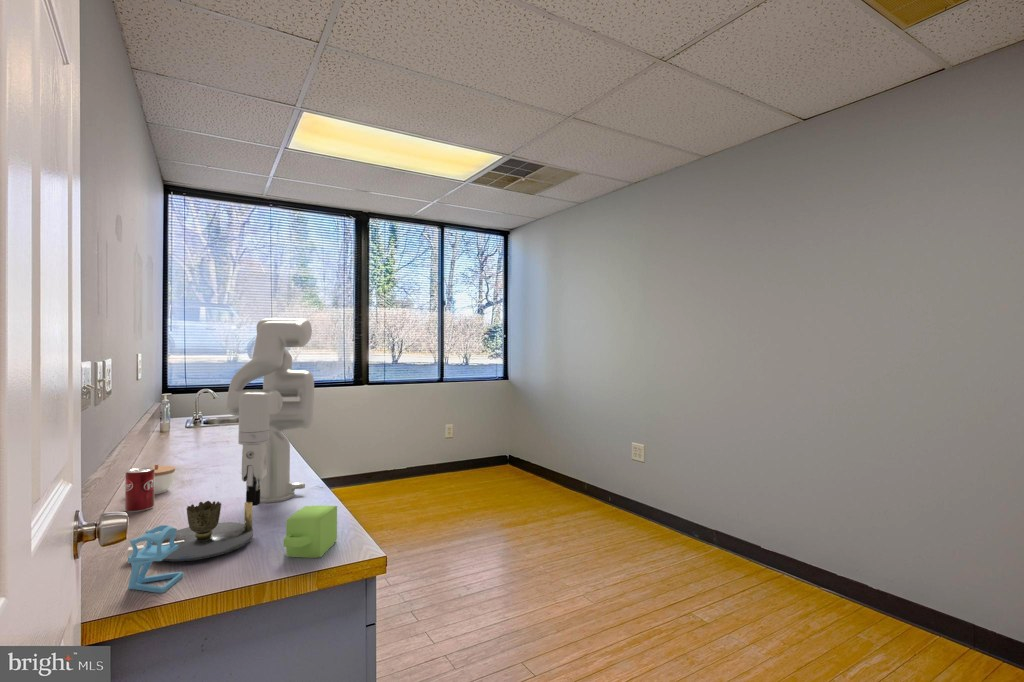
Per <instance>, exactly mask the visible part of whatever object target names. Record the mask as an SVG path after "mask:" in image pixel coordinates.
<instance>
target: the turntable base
mask: <svg viewBox="0 0 1024 682" xmlns="http://www.w3.org/2000/svg"><path fill="white" fill-rule="evenodd" d="M136 546H137V548H138V552H139V551H140V550H141V549H143V548H144V547H145V544H141V545H136ZM132 554H133V548H132V546H129V547H128V548H127V558H128V557H130V556H131V555H132ZM127 564H131V563H130V562H128V561H127Z"/></svg>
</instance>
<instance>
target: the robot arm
mask: <svg viewBox="0 0 1024 682" xmlns="http://www.w3.org/2000/svg"><path fill="white" fill-rule="evenodd" d="M312 329H313V328H312V323H311V322H310V320H309V319H307V318H291V317H290V318H286V317H285V318H284V317H280V318H279V317H270V318H269V317H268V318H263V319H260V320H259V321H258V322H257V324H256V337H255V344H254V348H253V354H252V359H251V360H250V361H248V362H246V363H245V364H244V365H243V366H241V368H240V369H238V371H236V372H235V374H234V375H233V376H232V378H231V380H230V383H229V387H228V391H227V396H226V404H225V405H226V410H227V413H228V414H230V415H232V416H234V417H238V443H237V444H238V445H242V449H241V450H242V451H241V480H242V481H243V483H245V482H246V483H245V484H246V488H245V490H246V492H245V503H246V502H252V507H255V506H259V505H260V504H261V503H262V504H265V503H266V504H270V503H271V504H272V503H279V502H284V501H287V500H290V499H292V498H293V497H294V496H295V495H296V494H295V491H296V490H302V489H305V488H306V483H305V482H297V481H296V482H293V483H292V481H291V480H290V479H291V478H290V477H291V474H290V473H291V465H290V464H291V461H290V460H291V444H290V441H289V439H288V437H287V436H286V435H285V434H284V432H285V431H297V430H298V431H300V430H307V429H309V428H311V426H312V424H313V420H314V405H315V402H314V401H315V379H314V376H313V374H312V373H311V372H310V371H309V370H302V369H301V370H299V369H297V370H293V368H292V367H293V357H292V354H291V353H290V352H289V351H288V349H287V348H303V347H305V346H306V345H307V344H308V343H309V341H310V340H311V337H312V334H313V333H312V332H313V330H312ZM262 377H263V381H262V382H263V383H262V389H260V388H259V389H257V388H255V389H244V388H245V387H246V386H247V385H248V384H249V383H251V382H252V381H255V380H257V379H260V378H262ZM284 399H298V400H291V401H289V400H285V401H284ZM283 431H284V432H283Z"/></svg>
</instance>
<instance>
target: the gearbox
mask: <svg viewBox="0 0 1024 682" xmlns="http://www.w3.org/2000/svg"><path fill="white" fill-rule="evenodd" d="M285 529H286V534H285V535H286V536H285V537H284V538H283V543H282V545H283V548H285V549H286V550H285V552H286V553H285V554H286V555H285V556H286V557H293V558H306V559H307V558H308V559H309V558H311V559H313V558H317V559H318V558H321V557H323V556H324V553H325V552H326V551H327V550H328V549H329V548H330V547H331V548H332V546H334V544H335V543H336V542H337V541H338V506H337V505H305V506H303V507H302V508H300V509H299V510H297V511H296V512H295V513H293V514H292V515H290V516H289V517H288V518H287V519H286V528H285ZM336 540H337V541H336ZM335 541H336V542H335ZM334 542H335V543H334ZM331 548H330V549H331ZM330 549H329V550H330ZM329 550H328V551H329ZM328 551H327V552H328ZM327 552H326V553H327ZM326 553H325V554H326Z"/></svg>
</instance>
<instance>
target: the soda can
mask: <svg viewBox="0 0 1024 682" xmlns="http://www.w3.org/2000/svg"><path fill="white" fill-rule="evenodd" d="M151 467H152V466H150V467H145V466H144V467H137V468H132V469H128V470H127V471H126V472H125V476H124V478H125V483H124V487H125V488H124V489H125V490H124V510H125V511H126V512H127V513H140V512H145V511H146V512H147V511H149V510H151V509H153V508H154V506H155V495H156V494H155V470H154V469H153V468H151Z"/></svg>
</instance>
